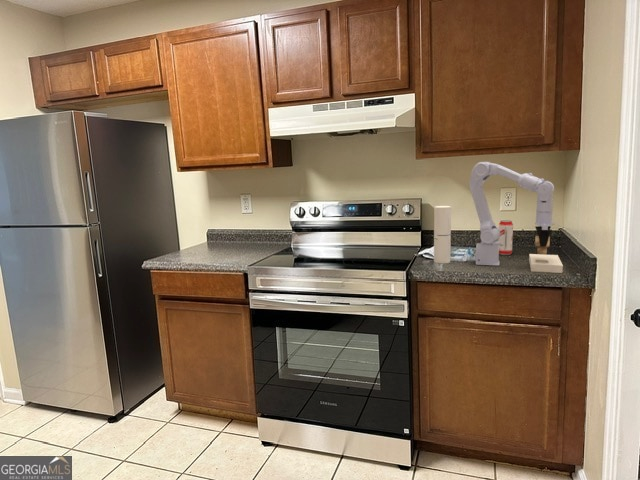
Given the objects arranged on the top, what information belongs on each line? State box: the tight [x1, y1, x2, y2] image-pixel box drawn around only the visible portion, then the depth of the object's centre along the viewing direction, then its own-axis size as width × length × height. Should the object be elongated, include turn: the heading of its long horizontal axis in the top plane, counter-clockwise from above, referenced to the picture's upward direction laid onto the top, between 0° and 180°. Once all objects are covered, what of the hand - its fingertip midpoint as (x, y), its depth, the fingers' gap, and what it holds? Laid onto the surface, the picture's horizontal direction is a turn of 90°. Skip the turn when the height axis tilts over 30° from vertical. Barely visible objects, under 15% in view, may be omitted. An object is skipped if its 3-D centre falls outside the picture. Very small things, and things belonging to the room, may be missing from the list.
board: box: [528, 253, 564, 274], centre depth 180 cm, size 11×20×3 cm, turn 157°
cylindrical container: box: [433, 205, 452, 264], centre depth 193 cm, size 7×7×25 cm
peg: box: [534, 235, 551, 255], centre depth 175 cm, size 5×5×7 cm
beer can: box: [498, 219, 514, 256], centre depth 205 cm, size 6×6×16 cm
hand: (542, 245), depth 175 cm, fingers closed on peg, 5 cm apart
